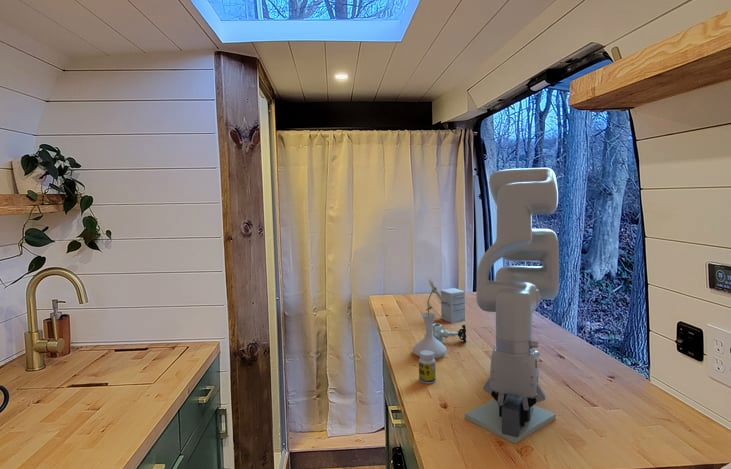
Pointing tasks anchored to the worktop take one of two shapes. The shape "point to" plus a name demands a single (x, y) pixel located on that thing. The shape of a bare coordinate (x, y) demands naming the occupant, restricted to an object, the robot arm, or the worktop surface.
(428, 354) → the supplement bottle
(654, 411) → the worktop surface
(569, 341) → the worktop surface
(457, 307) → the supplement box
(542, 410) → the board
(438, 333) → the valve
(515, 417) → the link
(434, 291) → the flower in vase
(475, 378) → the worktop surface
